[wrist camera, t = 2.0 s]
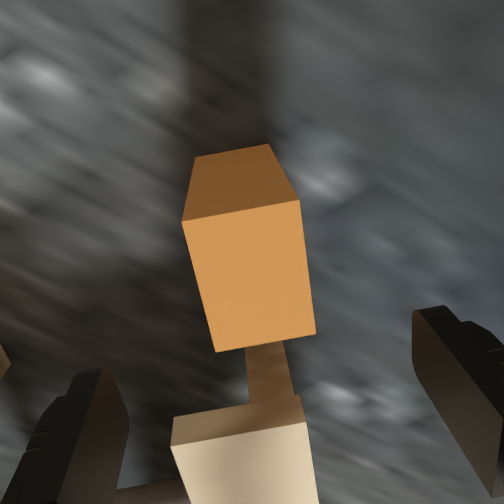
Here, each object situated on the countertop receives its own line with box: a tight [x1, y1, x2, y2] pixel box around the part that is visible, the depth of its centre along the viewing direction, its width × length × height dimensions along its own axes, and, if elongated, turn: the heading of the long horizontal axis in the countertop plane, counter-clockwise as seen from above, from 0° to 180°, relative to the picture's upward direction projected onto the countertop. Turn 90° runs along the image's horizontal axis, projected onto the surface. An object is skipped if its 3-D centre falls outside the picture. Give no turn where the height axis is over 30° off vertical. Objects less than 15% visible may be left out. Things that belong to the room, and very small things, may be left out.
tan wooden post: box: [181, 144, 316, 352], centre depth 19 cm, size 4×6×10 cm
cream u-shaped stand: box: [0, 340, 319, 504], centre depth 25 cm, size 20×16×11 cm
